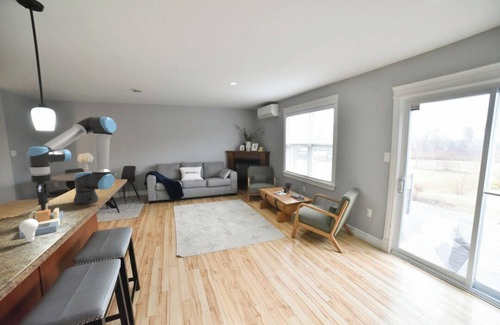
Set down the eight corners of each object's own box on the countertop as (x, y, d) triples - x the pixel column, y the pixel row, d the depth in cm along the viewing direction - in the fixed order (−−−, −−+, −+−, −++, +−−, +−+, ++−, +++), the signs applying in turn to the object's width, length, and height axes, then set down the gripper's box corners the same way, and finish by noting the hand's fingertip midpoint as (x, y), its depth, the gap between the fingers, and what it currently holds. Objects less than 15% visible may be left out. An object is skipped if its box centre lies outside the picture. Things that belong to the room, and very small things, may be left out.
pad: (27, 228, 110) (26, 223, 110) (60, 223, 118) (59, 217, 117) (24, 232, 106) (23, 226, 105) (58, 226, 113) (58, 221, 113)
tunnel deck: (33, 219, 122) (32, 208, 121) (63, 215, 129) (62, 204, 129) (19, 238, 99) (18, 224, 99) (56, 231, 107) (55, 218, 106)
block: (38, 219, 115) (37, 210, 115) (51, 217, 118) (50, 209, 117) (36, 222, 111) (35, 213, 111) (49, 220, 114) (48, 211, 113)
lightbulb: (34, 244, 94) (31, 221, 93) (17, 246, 92) (14, 222, 91) (43, 238, 100) (41, 216, 99) (27, 239, 98) (24, 217, 97)
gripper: (34, 173, 117) (37, 213, 120) (27, 176, 107) (31, 220, 109) (52, 172, 122) (55, 210, 124) (47, 175, 111) (51, 217, 114)
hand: (44, 215), depth 117 cm, fingers closed
